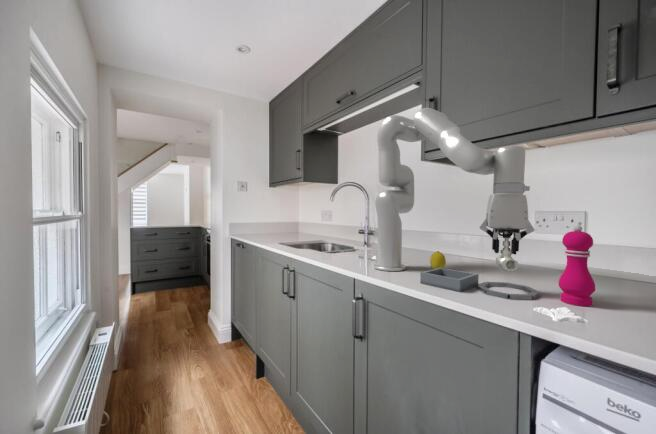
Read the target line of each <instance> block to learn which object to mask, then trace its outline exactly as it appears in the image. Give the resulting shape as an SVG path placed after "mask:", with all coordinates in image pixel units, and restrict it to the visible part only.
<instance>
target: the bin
mask: <svg viewBox="0 0 656 434" xmlns="http://www.w3.org/2000/svg"><path fill="white" fill-rule="evenodd" d="M419 278H420V284H422V285H427V286H431V287H436V288H440V289H444V290H447V291H449V290H450V291H453V292H458V293H461V292H464V291H466V290H469V289H472V288H475V287H477V285H478V284H479V274H478V273H473V272H468V271H461V270H457V269H456V270H455V269H449V268H445V267H444V268H437V269H433V268H432V269H429V270H425V271H422V272H420V277H419Z"/></svg>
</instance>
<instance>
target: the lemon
mask: <svg viewBox="0 0 656 434" xmlns="http://www.w3.org/2000/svg"><path fill="white" fill-rule="evenodd" d="M429 259H430V261H429V263H430V266H431V268H432V270H433V269H437V268H445V267H446V261H447V260H446V257H445V255H444V254H443V252H440V251H439V250H438V251H437V250H436V251H435V252H433V253H432V254H431V256H430V258H429Z"/></svg>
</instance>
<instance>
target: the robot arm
mask: <svg viewBox="0 0 656 434" xmlns="http://www.w3.org/2000/svg"><path fill="white" fill-rule="evenodd" d="M376 136H377V139H376V140H377V141H376V142H377V147H378V179H379V183H380V184H381V185H382V186H384V187H387V188H388V187H389V188H394V189H386V190H382V191H381V192H379V193H378V194H377V195H376V197H375V199H374V200H375V201H374V202H375V203H374V205H375V210H376V215H377V216H376V217H377V219H376V220H377V255H373V256H372V257H371V261H374V262H375V263H374V264H373V269H375V270H378V271H383V272H385V271H386V272H399V271H404V270H405V269H406V268H407V267H406V265H405V264H403V263H402V259H403V258H402V257H403V256H402V253H403V252H402V251H403V248H402V244H403V243H402V242H403V238H402V236H403V234H402V233H403V227H402V226H403V225H402V224H403V223H402V220H401V217H400V215H402V214H407V213H409V212H410V211H412V209H413V207H414V206H415V205H414V204H415V174H414V172H413V170H412V169H411V167H409V166H408V165H405V164H401V151H400V147H399V144H398V140H400V141H403V142H407V143H417V142H420V141H425V140H430V141H431V142H432V143H433V144H435V145H436V146H437V147H439V149H440V151H441V152H442V154H443V155H444V156H445V157H446V158H447V159H448V160H449V161H450V162H452V163H453V164H454V165H456V166H457V167H458V168H460V169H461V170H463V171H465V172H467V173H471V174H476V175H482V176H487V175H492V174H493V180H492V181H493V182H492V183H493V184H492V185H493V186H492V194H489V196H488V200H487V207H486V214H485V219H484V220H483V222H482V223H481V224H480V226H479V229H480V230H481V231H483V232H485V233H486V234H487V235H488V236H489V237H490V238H492V243H491V249H492V251H494V253H495V254H499V253H500V239H499V234H498V233H499V229H512V230H515V229H519V233H516V232H513V234H512V236H513V238H512V239H511V241H510V250H512V251H513V254H512V255H517V252H519V251H520V249H519V248H520V241H521V239H523V238H524V237H526V236H527V235H529V234H531V233H533V232H535V230H536V229H535V228H534V226H533V225H532V223H531V221H530V220H529V208H528V198H527V195H526V194H525V192H529V191H530V189H531V186H530V185H525V169H526V167H525V166H526V149H525V147H523V146H521V145H507V146H501V147H499V148H497V149H496V150H489V149H486V148H483V147H479V146H477V145H475V144H474V143H472V142H471V141H470V140H468V139H467V138H466V137H465V136H463V135H462V134H461V129H460V127H459V126H458V125H457V124H455V123H454V122H452V121H451V120H450V119H449V117H448V116H447V115H446V114H445V113H444V112H441V111H440V110H436V109H434V108H431V107H423V108H420V109H419V110H418V111H417V112H416V113H415V114H414V116H413V119H411V118H409V117H405V116H401V115H397V114H396V115H394V114H392V115H389V116H387V117H385V118H384V119H383V121H382V122H381V123H380V125H379V127H378V130H377V135H376ZM489 228H490V229H489ZM491 229H492V230H491ZM495 229H498V231H497V232H495Z"/></svg>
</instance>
